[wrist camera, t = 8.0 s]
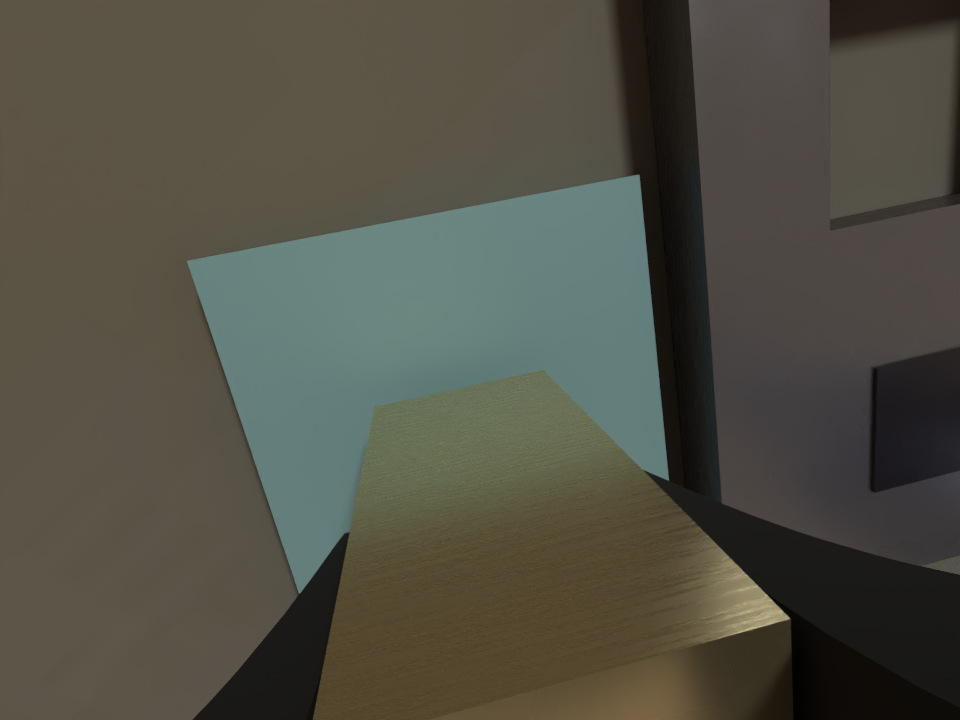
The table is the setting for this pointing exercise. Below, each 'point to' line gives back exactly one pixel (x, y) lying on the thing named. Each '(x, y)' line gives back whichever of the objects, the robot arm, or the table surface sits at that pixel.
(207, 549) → the table surface
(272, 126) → the table surface
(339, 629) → the wooden block
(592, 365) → the pad
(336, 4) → the table surface
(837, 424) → the grey square-hole board
